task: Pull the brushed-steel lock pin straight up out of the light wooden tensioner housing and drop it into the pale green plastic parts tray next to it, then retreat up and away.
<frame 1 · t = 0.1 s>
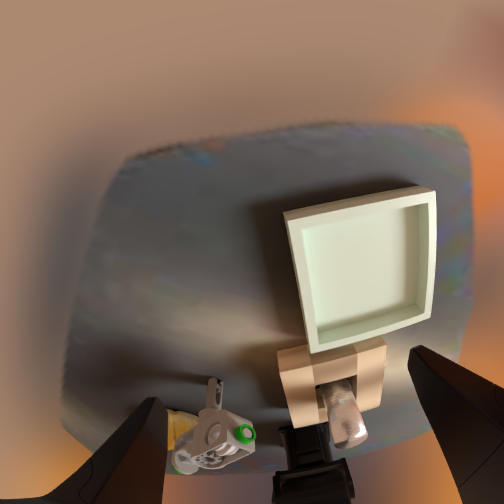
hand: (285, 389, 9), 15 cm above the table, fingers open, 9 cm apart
lock pin: (340, 404, 24), in the tensioner housing
mechanical component: (216, 380, 28), on the table
bread roll: (177, 423, 32), on the table
parts tray: (363, 265, 23), on the table
tensioner housing: (330, 372, 28), on the table
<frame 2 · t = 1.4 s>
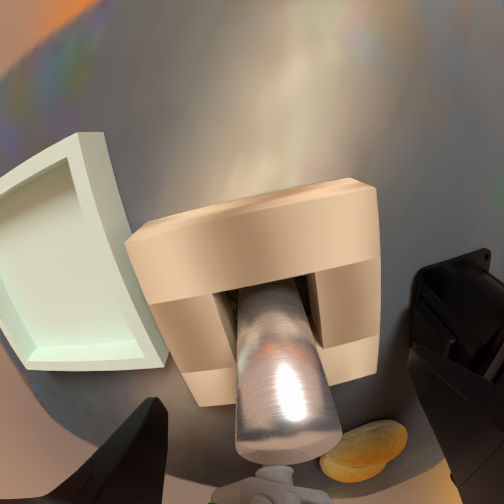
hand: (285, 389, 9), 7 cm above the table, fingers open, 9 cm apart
lock pin: (275, 346, 11), in the tensioner housing
mechanical component: (269, 421, 20), on the table
bread roll: (360, 440, 22), on the table
parts tray: (55, 266, 14), on the table
tensioner housing: (267, 291, 15), on the table
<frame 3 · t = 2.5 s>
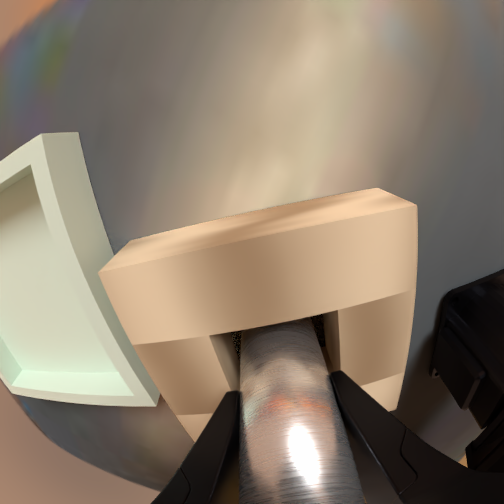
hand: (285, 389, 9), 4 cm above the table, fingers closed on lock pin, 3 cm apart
lock pin: (287, 400, 8), in the tensioner housing, touching gripper
parts tray: (33, 287, 12), on the table
tensioner housing: (275, 321, 12), on the table
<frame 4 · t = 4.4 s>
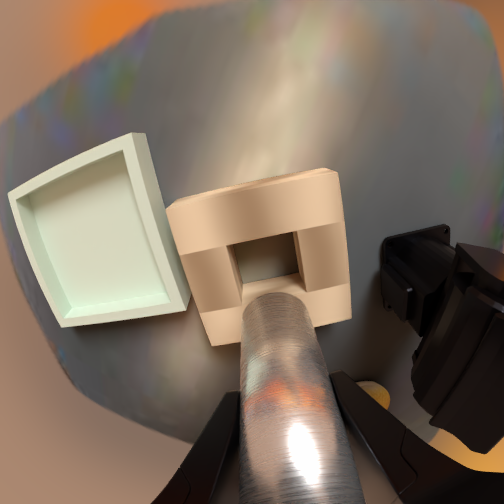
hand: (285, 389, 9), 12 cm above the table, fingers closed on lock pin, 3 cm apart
lock pin: (287, 400, 8), point 13 cm above the table, touching gripper
bread roll: (348, 403, 27), on the table
parts tray: (97, 236, 19), on the table
tensioner housing: (265, 252, 20), on the table
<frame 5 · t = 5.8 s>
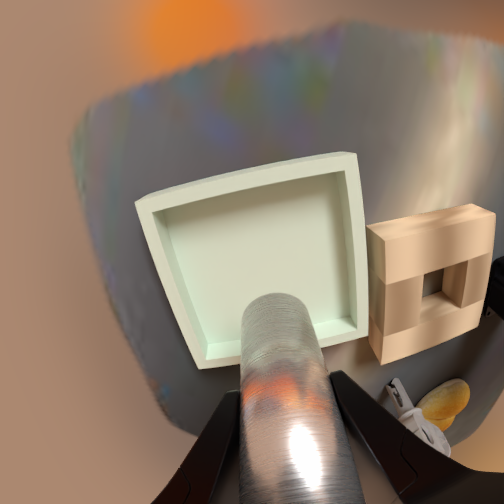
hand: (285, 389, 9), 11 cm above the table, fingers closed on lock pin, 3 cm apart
lock pin: (287, 401, 8), point 11 cm above the table, touching gripper
mechanical component: (391, 381, 24), on the table
bread roll: (434, 401, 27), on the table
parts tray: (264, 261, 18), on the table
tensioner housing: (424, 274, 19), on the table
when the fingers open (6 cm above the table, at t = 6.7 s): lock pin drops 2 cm, resting on parts tray.
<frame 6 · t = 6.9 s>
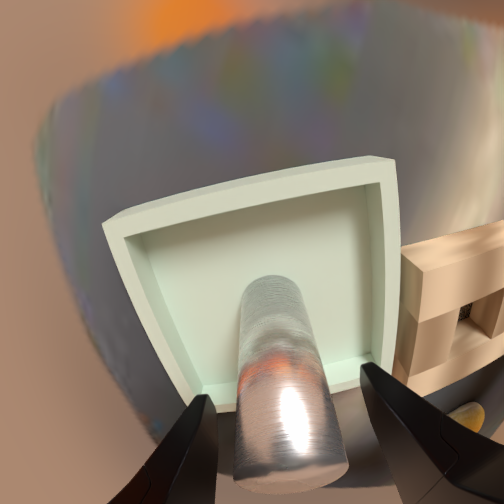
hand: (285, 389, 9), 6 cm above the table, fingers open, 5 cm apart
lock pin: (279, 367, 10), in the parts tray, point 5 cm above the table
bread roll: (447, 424, 23), on the table
parts tray: (270, 293, 15), on the table
tensioner housing: (453, 301, 15), on the table
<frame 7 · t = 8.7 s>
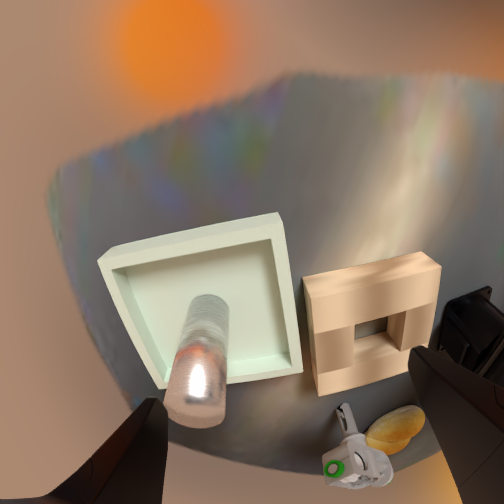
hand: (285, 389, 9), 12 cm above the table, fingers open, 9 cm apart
lock pin: (202, 353, 16), in the parts tray, point 5 cm above the table
mechanical component: (341, 405, 27), on the table
bread roll: (390, 423, 30), on the table
parts tray: (209, 305, 21), on the table
tensioner housing: (366, 317, 22), on the table
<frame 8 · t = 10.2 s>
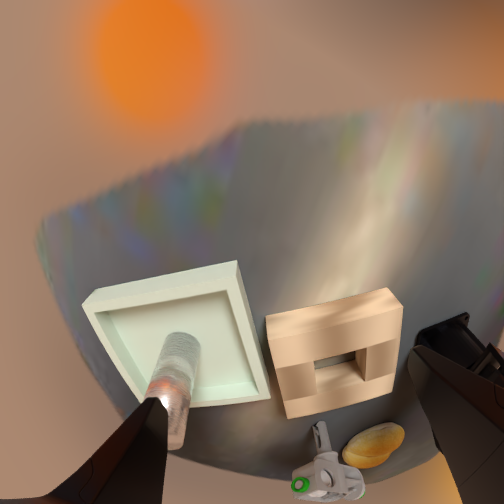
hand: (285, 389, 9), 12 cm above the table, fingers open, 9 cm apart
lock pin: (171, 386, 18), in the parts tray, point 5 cm above the table
mechanical component: (318, 423, 28), on the table
bread roll: (370, 437, 31), on the table
parts tray: (183, 339, 22), on the table
tensioner housing: (332, 349, 23), on the table
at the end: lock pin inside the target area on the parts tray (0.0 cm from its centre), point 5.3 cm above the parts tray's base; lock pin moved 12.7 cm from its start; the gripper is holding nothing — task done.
